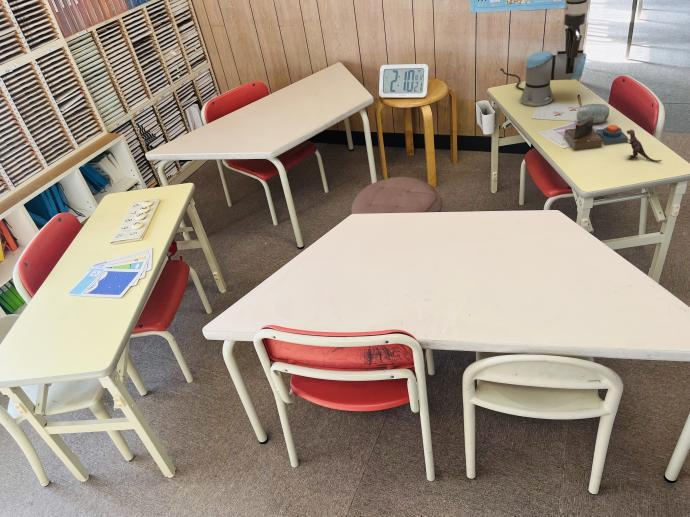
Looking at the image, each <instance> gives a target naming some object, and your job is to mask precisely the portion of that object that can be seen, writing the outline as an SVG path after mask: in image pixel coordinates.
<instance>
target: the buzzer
mask: <svg viewBox="0 0 690 517" xmlns="http://www.w3.org/2000/svg"><path fill="white" fill-rule="evenodd" d="M607 129H608V126H606V127H604V128H600V129H596V130H595V132H596V133H597V132H601V133H597V134H598V135H599V136H600V138H601V139H602V144H603V145H605V146H609V145H610V146H611V145H616V144H617V145H619V144H624V143H625V144H627V142H629V140H627V139H629V137H628V135H626V134H625V133H624V131H622V130H623V129H622V128H621V127H619V126H618V131H617V132H609V131H607ZM626 141H627V142H626Z"/></svg>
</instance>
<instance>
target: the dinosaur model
mask: <svg viewBox="0 0 690 517" xmlns="http://www.w3.org/2000/svg"><path fill="white" fill-rule="evenodd" d="M626 134H627V135H629V137H630V138H628V139H627V140H628V141H626V144H628V145H630V147H631V149H632V154H631V155H629V157H628V160H629V161H630V160H634V159H637V157H638V156H639V155H641V156H642V157H643V158H645V159H646V160H648V161H651V162H656V163H658V162H662V161H663V160H662V159H658V160H656V159H653V158H651V157H650V156H648V155H647V153H646V152H645V149H644V148H643V144H642V143H641V141H639V139H638V138H637V137H636V134H635V130H634V129H629V130H627V131H626Z"/></svg>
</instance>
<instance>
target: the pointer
mask: <svg viewBox="0 0 690 517" xmlns="http://www.w3.org/2000/svg"><path fill="white" fill-rule="evenodd" d="M593 120H594V118H593V117H588V118H587V119H585V120H583V121H582V122H578V123H576V124H575V126H574V128H575V136H574V138H575V139H580V138H581V137H583V136H584V135H586V134H588V133H589V132H591V131H592V128H593V129H594V127H593V126H594V123H593Z"/></svg>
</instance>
